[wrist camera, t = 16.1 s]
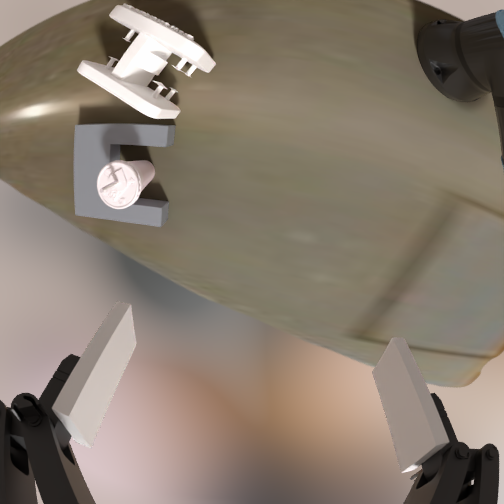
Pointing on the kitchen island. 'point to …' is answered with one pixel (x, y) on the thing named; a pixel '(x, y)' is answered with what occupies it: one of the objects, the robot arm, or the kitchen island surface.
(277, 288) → the kitchen island surface
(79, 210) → the notched board
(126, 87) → the cable organizer
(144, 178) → the smoothie
